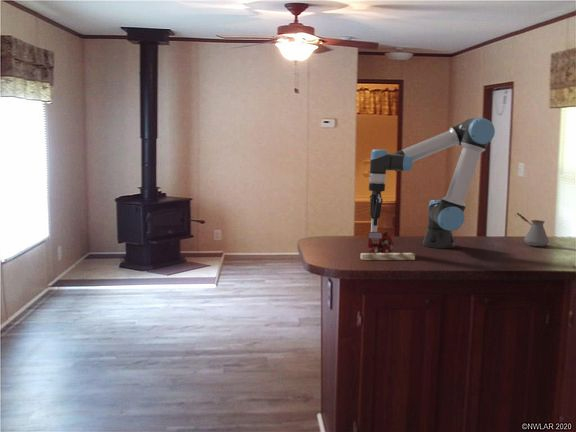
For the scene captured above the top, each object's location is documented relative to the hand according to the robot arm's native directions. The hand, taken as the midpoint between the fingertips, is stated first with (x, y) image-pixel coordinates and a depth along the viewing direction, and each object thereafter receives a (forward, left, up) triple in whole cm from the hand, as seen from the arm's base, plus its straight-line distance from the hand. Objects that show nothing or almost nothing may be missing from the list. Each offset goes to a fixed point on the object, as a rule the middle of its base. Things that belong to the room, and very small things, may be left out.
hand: (373, 231), depth 283 cm
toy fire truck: (0, +9, -9) cm, 13 cm away
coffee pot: (-87, -13, -9) cm, 89 cm away
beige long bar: (0, +21, -9) cm, 23 cm away
